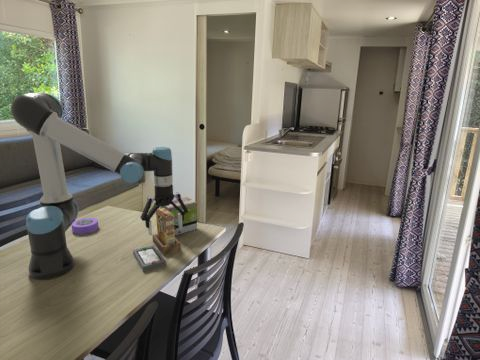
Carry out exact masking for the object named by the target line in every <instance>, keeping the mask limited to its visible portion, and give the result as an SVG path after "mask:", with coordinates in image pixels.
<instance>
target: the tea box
mask: <svg viewBox="0 0 480 360" xmlns="http://www.w3.org/2000/svg"><path fill="white" fill-rule="evenodd" d="M181 199H182V201H183V203H184V205H185V206H186V208H187V210H188V212H187V213H185V215H184V221H182V229H180V228H179V224H178V213H180V212H179V211H178V210H177V209H176V208H175V207H174V206H172V205H171V204H170V205H169V206H163V207H162V206H160V207H159V209H162V208H165V209H166V210H168V211H169V212H171V213H173V214H174V235H175V236H178V235H181V234H186V233H188V231H189V232H193V231H196V230H197V229H198V202H197V201H195V200H193V199H191V198H190V197H188V196H185V197H181ZM172 201H173V202H174V203H175V204H176V205H177V206H178V207H179V208H180V209H181V210H183V208H182V207H181V205H180V203H179V202H178V200H177V199H176V198H174V199H173V200H172ZM195 229H196V230H195ZM192 230H193V231H192ZM185 232H186V233H185Z"/></svg>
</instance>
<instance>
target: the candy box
mask: <svg viewBox="0 0 480 360" xmlns="http://www.w3.org/2000/svg"><path fill="white" fill-rule="evenodd" d="M155 214H156V215H155V216H156V218H155V219H156V230H157V233H156V234H158V239H159V241H160V242H161V243H162V244H163V246H165V245H170V244H174V243H175V238H176V237H175V236H176V235H174V214H173V213H171V212H169V211H168V210H166V209H165V208H162V209H160V208H158V209H157V210H156V212H155Z"/></svg>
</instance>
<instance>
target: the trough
mask: <svg viewBox="0 0 480 360" xmlns="http://www.w3.org/2000/svg"><path fill="white" fill-rule="evenodd" d="M151 236H152V243H153V244H154V246H155V247H156V248H157V250H158V251H159V252H160V254H161V255H162V256H164V255H168V254H171V253H176V252H180V250H182V249H181V242H180V241H179V240H178V239H177V238H176V237H175V243H174V244H170V245H165V246H163V244H162V243H161V242H160V241H159V239H158V233H156V234H155V233H154V234H152V235H151Z"/></svg>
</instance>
